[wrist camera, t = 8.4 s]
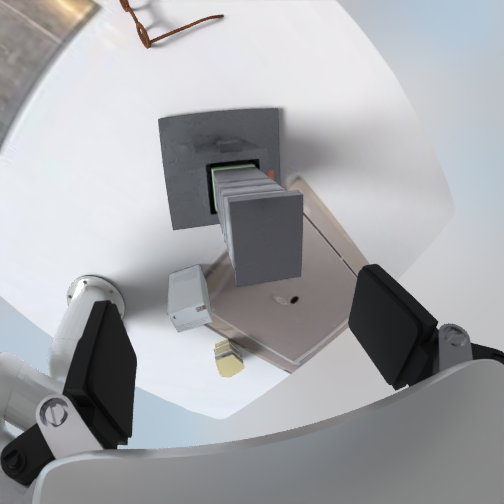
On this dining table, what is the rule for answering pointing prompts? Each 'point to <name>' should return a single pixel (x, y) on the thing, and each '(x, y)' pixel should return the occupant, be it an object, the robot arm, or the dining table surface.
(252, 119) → the base
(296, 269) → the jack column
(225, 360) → the beige layered block
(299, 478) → the robot arm
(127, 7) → the glasses
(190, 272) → the skincare box
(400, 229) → the dining table surface
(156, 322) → the dining table surface
